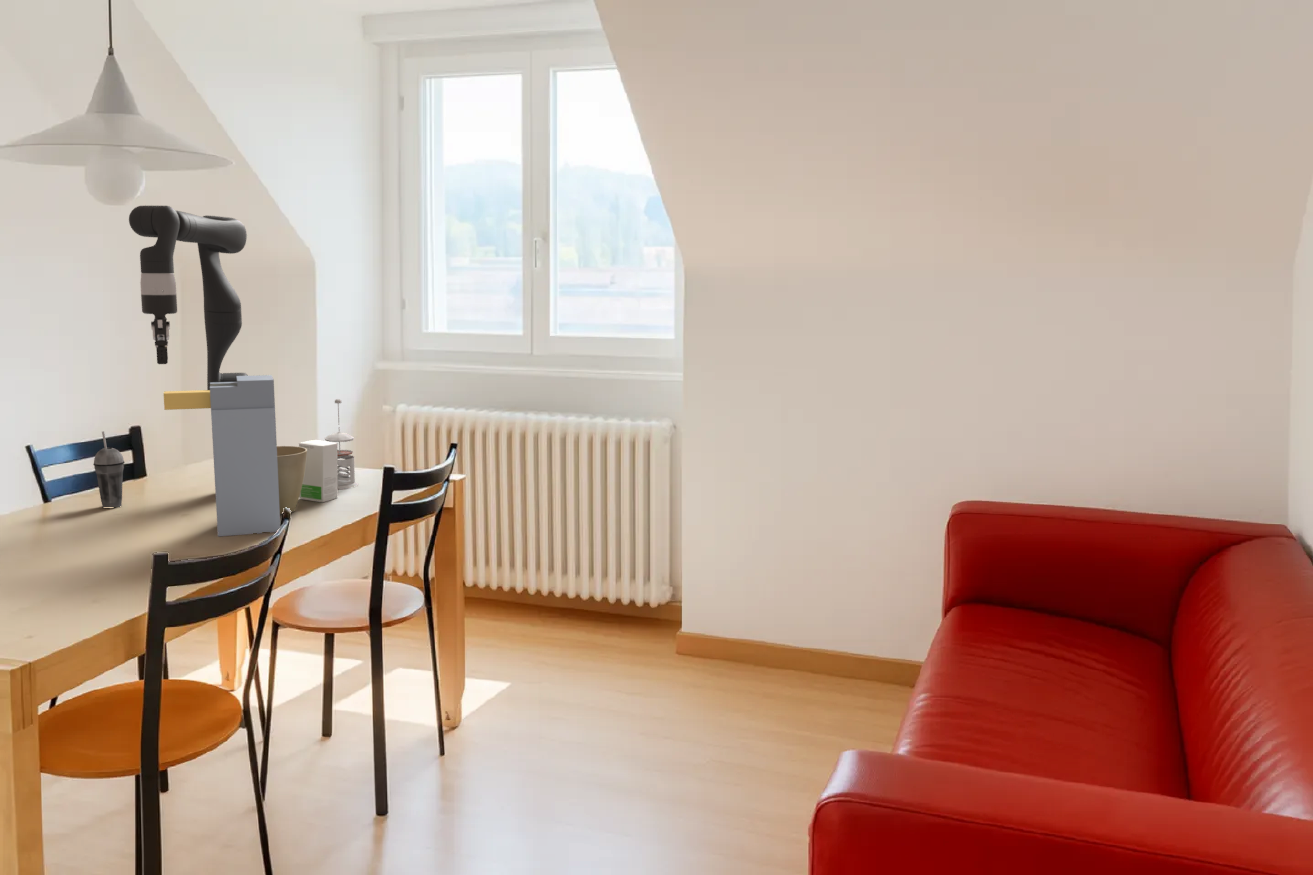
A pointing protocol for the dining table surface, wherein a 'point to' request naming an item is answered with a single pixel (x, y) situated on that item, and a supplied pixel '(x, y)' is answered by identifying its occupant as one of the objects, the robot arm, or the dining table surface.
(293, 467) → the plant pot
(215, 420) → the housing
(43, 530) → the dining table surface
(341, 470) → the french press
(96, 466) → the beverage cup
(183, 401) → the bar
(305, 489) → the skincare box
